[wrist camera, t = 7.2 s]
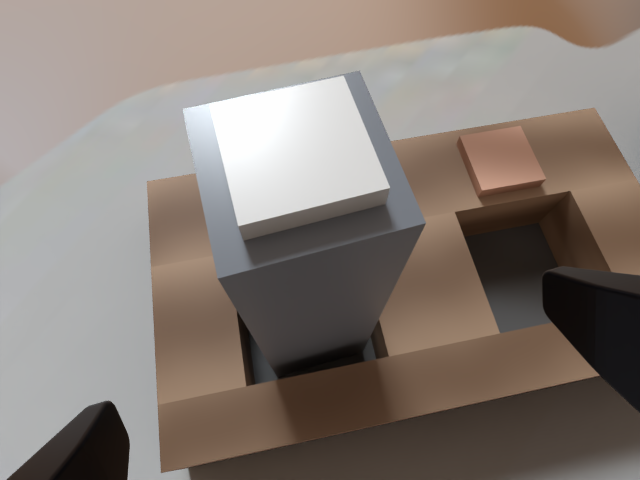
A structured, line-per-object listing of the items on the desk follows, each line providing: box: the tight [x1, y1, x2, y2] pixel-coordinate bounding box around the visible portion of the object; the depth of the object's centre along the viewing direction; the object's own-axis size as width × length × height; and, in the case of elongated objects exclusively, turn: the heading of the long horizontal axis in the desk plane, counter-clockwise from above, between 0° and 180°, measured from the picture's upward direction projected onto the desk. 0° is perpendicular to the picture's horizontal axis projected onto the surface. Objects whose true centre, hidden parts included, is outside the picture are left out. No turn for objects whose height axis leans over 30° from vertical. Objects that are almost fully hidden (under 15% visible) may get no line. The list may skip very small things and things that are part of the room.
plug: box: [183, 71, 426, 377], centre depth 15 cm, size 4×4×14 cm
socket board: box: [147, 108, 640, 473], centre depth 20 cm, size 12×22×4 cm, turn 101°
